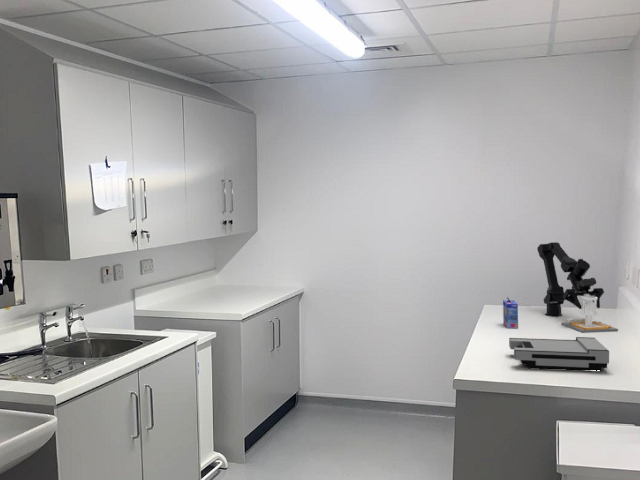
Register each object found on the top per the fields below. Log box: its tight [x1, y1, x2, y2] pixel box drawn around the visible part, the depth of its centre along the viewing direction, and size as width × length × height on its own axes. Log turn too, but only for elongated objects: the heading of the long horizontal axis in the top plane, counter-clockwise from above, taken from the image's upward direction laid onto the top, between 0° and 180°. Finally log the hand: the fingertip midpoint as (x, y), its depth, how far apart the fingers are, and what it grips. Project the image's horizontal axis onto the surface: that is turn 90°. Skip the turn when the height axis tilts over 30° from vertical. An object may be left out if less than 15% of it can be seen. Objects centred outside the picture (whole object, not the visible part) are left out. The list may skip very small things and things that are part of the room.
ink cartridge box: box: [502, 296, 519, 329], centre depth 286 cm, size 10×6×14 cm, turn 174°
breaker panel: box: [561, 317, 619, 334], centre depth 281 cm, size 18×18×3 cm
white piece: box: [580, 294, 598, 326], centre depth 279 cm, size 7×7×15 cm
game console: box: [508, 336, 610, 372], centre depth 223 cm, size 21×32×8 cm, turn 78°
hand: (590, 308), depth 278 cm, fingers open, 9 cm apart
